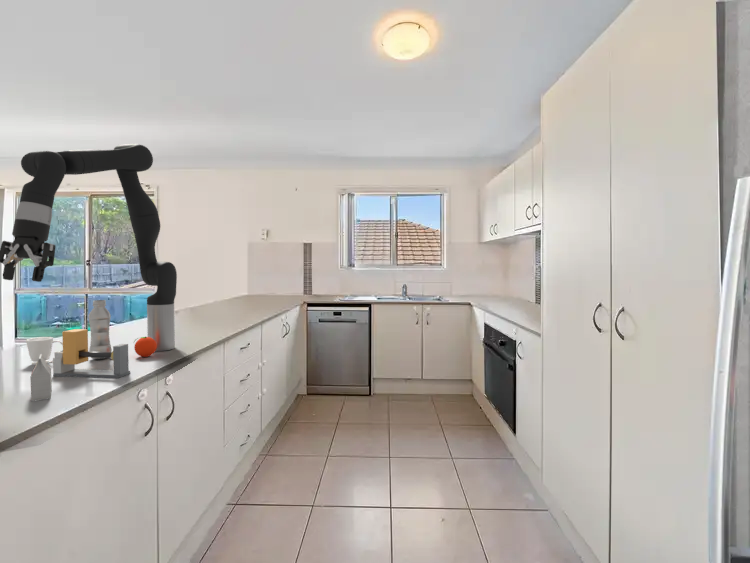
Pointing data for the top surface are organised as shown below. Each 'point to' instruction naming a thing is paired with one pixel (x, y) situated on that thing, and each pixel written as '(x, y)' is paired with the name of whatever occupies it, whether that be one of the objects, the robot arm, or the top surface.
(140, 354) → the clementine
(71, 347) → the sleeve
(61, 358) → the gray horizontal rod stand
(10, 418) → the top surface
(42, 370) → the milk carton
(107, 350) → the plastic bottle
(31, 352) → the cup
